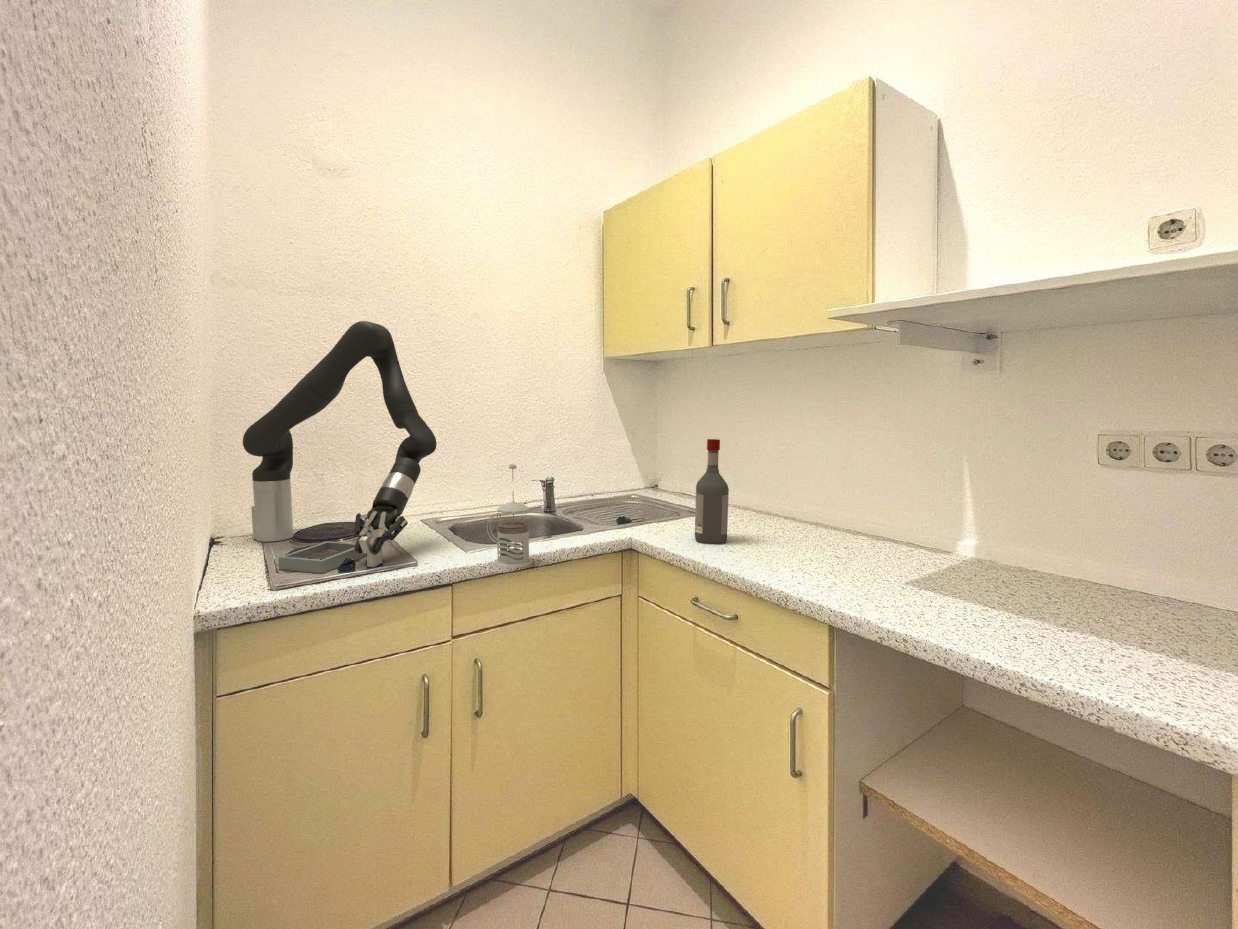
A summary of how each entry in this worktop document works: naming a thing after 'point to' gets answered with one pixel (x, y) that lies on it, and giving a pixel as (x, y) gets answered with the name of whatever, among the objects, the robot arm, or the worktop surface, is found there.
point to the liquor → (711, 501)
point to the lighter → (371, 559)
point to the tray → (302, 564)
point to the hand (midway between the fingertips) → (365, 552)
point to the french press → (512, 536)
